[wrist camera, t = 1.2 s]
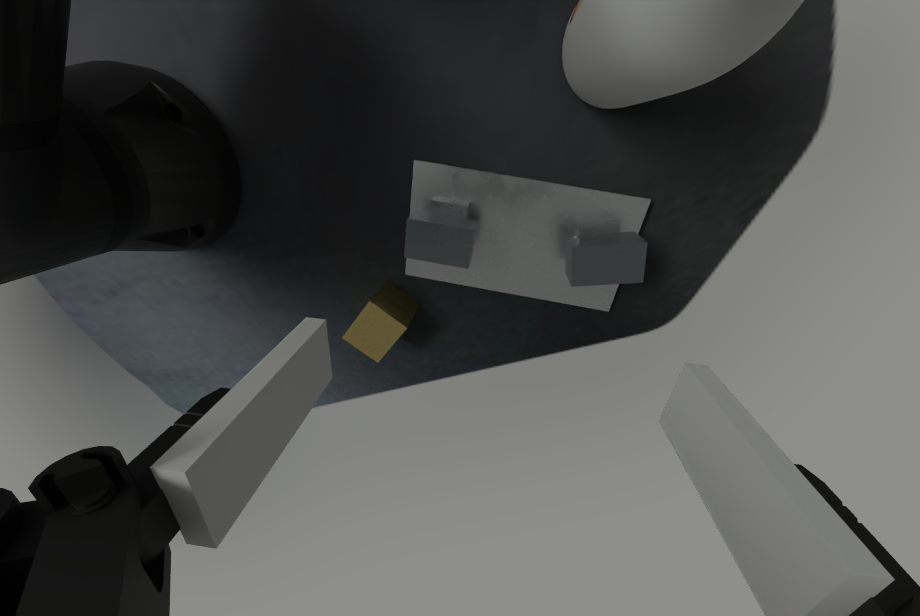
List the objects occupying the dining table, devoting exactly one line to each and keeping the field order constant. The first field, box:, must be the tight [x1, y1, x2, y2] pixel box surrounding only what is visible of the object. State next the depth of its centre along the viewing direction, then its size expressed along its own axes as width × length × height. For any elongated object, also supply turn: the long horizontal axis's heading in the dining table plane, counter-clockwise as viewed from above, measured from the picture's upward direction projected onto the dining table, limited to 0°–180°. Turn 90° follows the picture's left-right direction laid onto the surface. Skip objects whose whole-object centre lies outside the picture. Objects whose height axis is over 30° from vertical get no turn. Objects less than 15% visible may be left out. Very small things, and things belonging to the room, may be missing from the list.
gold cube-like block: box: [342, 280, 420, 363], centre depth 34 cm, size 5×4×5 cm
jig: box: [404, 159, 651, 312], centre depth 28 cm, size 19×10×6 cm, turn 82°
